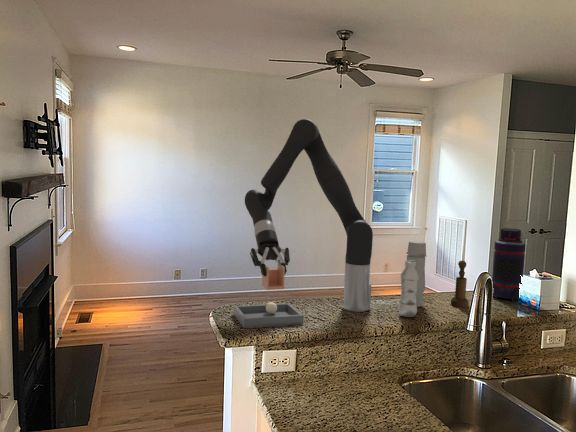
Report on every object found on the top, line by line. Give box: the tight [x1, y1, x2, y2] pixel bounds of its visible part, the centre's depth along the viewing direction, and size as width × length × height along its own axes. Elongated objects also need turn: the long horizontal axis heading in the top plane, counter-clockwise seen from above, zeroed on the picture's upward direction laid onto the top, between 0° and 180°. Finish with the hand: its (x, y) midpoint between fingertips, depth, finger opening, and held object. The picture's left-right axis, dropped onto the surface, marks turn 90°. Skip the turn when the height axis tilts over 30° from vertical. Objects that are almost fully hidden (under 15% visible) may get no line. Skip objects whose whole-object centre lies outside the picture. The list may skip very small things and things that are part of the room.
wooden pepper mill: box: [450, 260, 470, 308], centre depth 183 cm, size 7×6×18 cm
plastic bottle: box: [397, 260, 419, 318], centre depth 165 cm, size 6×7×20 cm
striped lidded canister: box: [491, 227, 526, 302], centre depth 199 cm, size 14×12×30 cm
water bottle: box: [406, 240, 428, 308], centre depth 181 cm, size 9×8×25 cm
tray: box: [233, 302, 305, 329], centre depth 156 cm, size 20×15×3 cm
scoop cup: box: [261, 263, 286, 291], centre depth 158 cm, size 6×6×8 cm
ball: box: [265, 301, 277, 314], centre depth 160 cm, size 4×4×4 cm
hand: (274, 274), depth 156 cm, fingers closed on scoop cup, 6 cm apart
